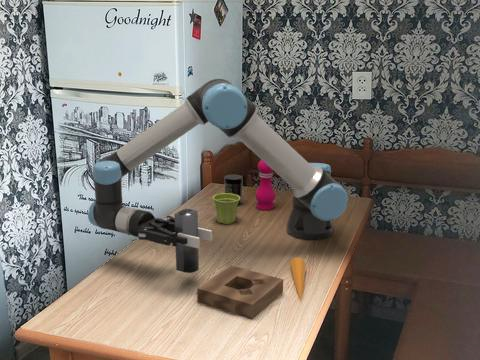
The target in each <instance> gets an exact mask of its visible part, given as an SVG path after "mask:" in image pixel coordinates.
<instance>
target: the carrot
mask: <svg viewBox="0 0 480 360" xmlns="http://www.w3.org/2000/svg"><path fill="white" fill-rule="evenodd" d="M290 271H291V276H292V280H293V282H294V286H295V291H296V294H297V295H298V298H299V301H300V300H301V301H302V299H303V293H304V283H305V276H306V275H305V274H306V273H305V272H306V262H305V260H304V259H302V257H294V258H293V259H292V260H291V261H290ZM301 298H302V299H301Z"/></svg>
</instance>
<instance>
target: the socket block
mask: <svg viewBox="0 0 480 360" xmlns="http://www.w3.org/2000/svg"><path fill="white" fill-rule="evenodd" d="M196 290H197V291H196V292H197V293H196V296H197V297H196V300H197V303H198V304H200V305H204V306H207V307H211V308H214V309H217V310H219V311H224V312H225V313H230V314H232V315H236V316H239V317H243V318H244V319H245V318H246V319H248V320H252V321H253V320H254V319H255V318H257V316H258V315H260V314H261V313H262V312H264V310H265V309H266V308H268V307H269V306H271V304H273V302H275V301H276V300H277V299H278V298H279V297H280V296H282V295H283V294H284V279H283V278H280V277H276V276H273V275H269V274H265V273H261V272H257V271H254V270H250V269H247V268H244V267H243V268H242V267H239V266H235V265H229V266H227V267H226V268H224V269H223V270H222V271H220V272H218V273H217V274H216V275H214V276H213V277H212V278H210V279H209V280H207V281H205V282H204V283H203V284H201V285H200V286H198V287H197V288H196ZM282 293H283V294H282Z"/></svg>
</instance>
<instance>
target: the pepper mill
mask: <svg viewBox="0 0 480 360" xmlns="http://www.w3.org/2000/svg"><path fill="white" fill-rule="evenodd" d="M257 169H258V171H259V172H258V176H259V178H260V181H259V182H260V183H259V186H258V188H257V190H256V192H255V199H256V200H257V202H256V209H258V210H260V211H270V210H273V209H274V207H275V206H274V205H275V204H274V200H276V192H275V190H274V187H273V184H272V178H273V176H274V175H273V174H274V172H273V171H274V170H273V169H271V168H270V167H269V166H268V165H267V164H266V163H265V162H264V161H263V160H261V159H260V160H259V162H258V164H257Z"/></svg>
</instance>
